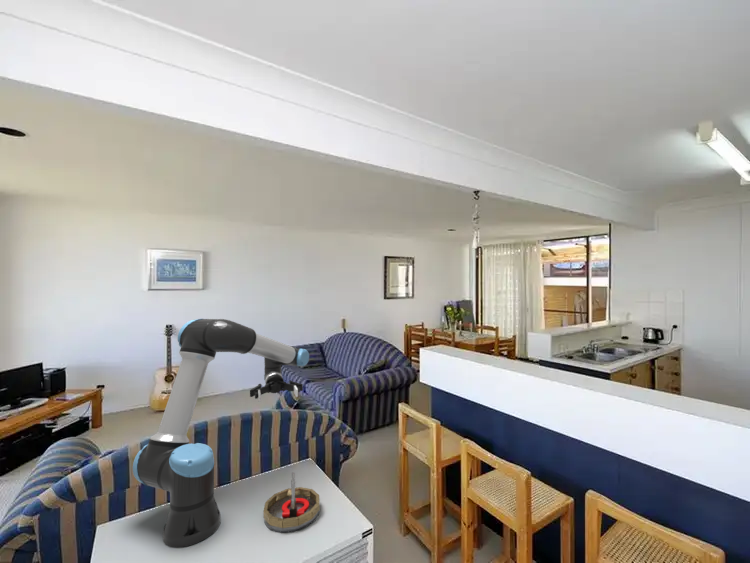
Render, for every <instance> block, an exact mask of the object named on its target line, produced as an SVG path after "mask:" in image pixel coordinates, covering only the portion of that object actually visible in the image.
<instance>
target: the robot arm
mask: <svg viewBox="0 0 750 563" xmlns="http://www.w3.org/2000/svg"><path fill="white" fill-rule="evenodd" d="M177 343H178V346H179V347H180V349H179V355H180V357H181V361H180V364H179V367H178V371H177V373H176V375H175V379H174V381H173V385H172V388H171V391H170V394H169V397H168V400H167V403H166V406H165V408H164V412H163V415H162V418H161V421H160V424H159V427H158V430H157V432H156V433H155V434H153V435H152V436H150V437H149V439H148V442H147V444H145V445H144V446H143V447H142V449H140V450H139V451H138V452H137V454H136V455H135V457H134V460H133V463H132V474H133V477H134V478H135V480H136V481H137V482H139V483H141V484H143V485H144V486H147V487H152V488H155V489H159V490H163V491H166V492H168V493H169V511H168V514H167V518H166V523H165V524H164V527H163V529H162V530H163V531H162V539H163V542H164V544H165V545H166V546H168V547H172V548H182V547H183V548H184V547H188V546H192V545H195V544H198V543H200V542H202V541H205V540H206V539H207V538H208V537H210V536H212V535H213V534H214V533H215V532H216V531H217V530H218V528H219V527H220V524H221V512H220V509H219V507H218V504H217V501H216V499H215V458H214V451H213V449H212V448H211V447H210V446H209V445H208V444H205V443H199V442H196V443H190V439H189V437H188V435H187V434H188V431H189V428H190V424H191V421H192V418H193V415H194V411H195V408H196V404H197V402H198V399H199V395H200V392H201V388H202V384H203V382H204V378H205V375H206V372H207V368H208V366H209V363H210V362H211V361H213V360H215V357H216V354H217V353H238V354H240V355H247V354H252V355H256V356H259V357H261V358H262V357H263V359H264V362H263V364H264V374H263V377H264V378H263V379H264V382H265V385H264V384H261V383H259V384H257V385H256V386H255V387H252V388H251V389H250V390H249V397H250V398H253V397H254V399H255V400H256V399H257V400H258V402H262V400H261V398H262V395H264V394H267V393H268V394H270V393H271V394H278V393H280V392H281V391H282V392H284V391H290V392H293V393H294V395H295V397H296V398H297V397H299V393H300V392H303V391H304V385H303V383H299V382H297V381H296V382H295V381H293V380H289V381H288V382H286V381H285V380H284V378H283V375H282V366H293V367H305V366H306V365H307V364H308V363H309V361H310V360H309V359H310V353H309V351H308V350H307V349H305V348H297V347H294V346H291V345H288V344H286V343H282V342H281V341H278V340H275V339H272V338H269V337H267V336H264V335H261V334H259V333H257V332H256V331H255V330H254V328H252V327H248V326H245V325H244V324H241V323H238V322H236V321H234V320H230V319H224V318H219V319H218V318H197V319H192V320H188V321H186V323H184V324H183V325H182V327H180V328H179V330H178V334H177Z"/></svg>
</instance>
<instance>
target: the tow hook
mask: <svg viewBox="0 0 750 563" xmlns="http://www.w3.org/2000/svg"><path fill="white" fill-rule="evenodd" d="M290 484H291V500H288V501H287V502H285V503H284V504H283V506H282V512H283V513H282V518H284V517H290V518H291V517H298V516H300V515H302V514H305V511H306V510H307V509H308V508H309V501H308V500H306V499H303V498H295V488H296V479H295V472H292V473H291V479H290ZM296 503H303V504H304V506H303V507H302V508H301V509H298V511H297V506H296ZM290 504H291V507H290V510H289V509H288V508H287V507H288V506H289V505H290Z"/></svg>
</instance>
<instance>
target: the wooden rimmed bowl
mask: <svg viewBox="0 0 750 563" xmlns="http://www.w3.org/2000/svg"><path fill="white" fill-rule="evenodd" d="M295 498H303V499H306V500H308V501H309V508H308V509H307V510H306V511H305V514H302V515H300V516H298V517H291V518H290V517H284V518H282V513H283V512H282V506H283V504H284V503H285V502H287V501H288V500H291V488H286V489H283V490H281V491H279V492H276V493H274V494H273V495H272V496H270V497H269V499H267V500H266V501H265V503H264V506H263V513H262V514H263V519H264V525H265V526H266V527H267V528H268V529H269V530H270V531H272V532H275V533H279V534H280V533H281V534H282V533H284V534H285V533H287V534H288V533H293V532H298V531H301V530H304V529H306V528H308V527H309V526H310V525H312V524H313V523H314V522H315V521H316V520H317V519H318V517H319V515H320V506H321V504H320V494H318V492H316V491H315V490H314V489H313V488H308V487H302V486H299V487H295ZM296 506H297V511H298V509H301V508H302V507H303V506H304V504H303V503H296ZM290 507H291V504H290V505H289V506H288V507H287V508H288V509H289V510H290Z"/></svg>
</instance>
